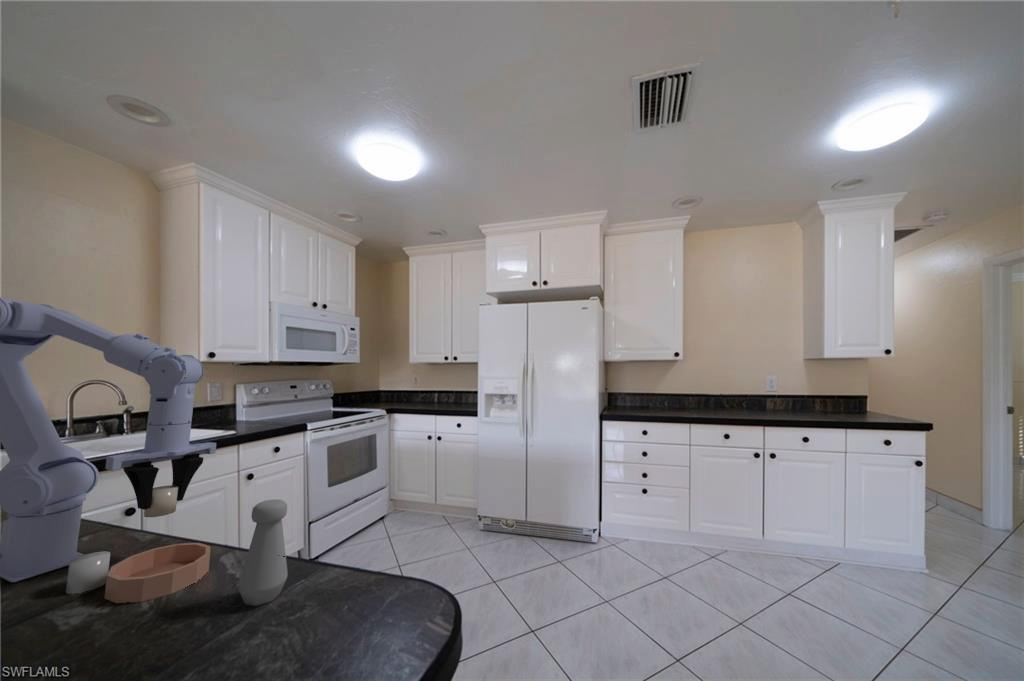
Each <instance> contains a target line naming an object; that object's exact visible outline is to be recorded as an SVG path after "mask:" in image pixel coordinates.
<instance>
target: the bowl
mask: <svg viewBox="0 0 1024 681" xmlns="http://www.w3.org/2000/svg"><path fill="white" fill-rule="evenodd" d="M210 559H211V545H207V544H204V543H201V542H186V543H185V542H183V543H175V544H170V545H165V546H159V547H155V548H152V549H148V550H144V551H142V552H139V553H137V554H133V555H130V556H128V557H126V558H125V559H123V560H121V561H119V562H118V563H116V564H114V565H112V566H111V567H110V568H109V569H110V570H108V575H107V581H106V583H105V591H104V599H105V600H106V601H107V600H108V601H110V602H113V603H114V602H115V603H114V604H127V602H129V604H130V603H142V602H145V601H151V600H154V599H158V598H162V597H166V596H170V595H173V594H174V593H177V592H179V591H181V590H184V589H186V588H188V587H190V586H189V585H191V584H193V583H195V584H196V583H198V582H199V581H200V580H202V577H203V576H204V575H205V574H206V573H207V572H208V573H209V570H210V569H209V568H210ZM206 575H207V574H206ZM206 575H205V576H206ZM205 576H204V577H205ZM204 577H203V578H204ZM199 579H200V580H199ZM198 580H199V581H198ZM197 581H198V582H197ZM193 585H194V584H193ZM187 586H188V587H187ZM191 586H192V585H191ZM185 587H186V588H185Z"/></svg>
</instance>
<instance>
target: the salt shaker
mask: <svg viewBox="0 0 1024 681" xmlns="http://www.w3.org/2000/svg"><path fill="white" fill-rule="evenodd" d="M287 512H288V503H286V501H285V500H283V499H276V498H274V499H268V500H263V501H261V502H258V503H256V505H254V507H252V509H251V521H252V523H255V524H256V525H255V529H254V531H253V535H252V538H251V541H250V543H249V544H250V545H249V548H248V552H247V555H246V558H245V562H244V564H243V569H242V570H241V575H240V578H239V581H238V589H239V590H238V592H239V593H240V597H241V598H242V600H243V603H244V605H247V606H253V607H258V606H261V605H265V604H268V603H270V602H273V601H274V600H275V599H276V598H277V597H278V596H279V595H280V594H281V591H282V589H283V587H284V585H285V584H286V581H287V579H288V574H289V573H288V565H287V557H286V556H287V555H286V546H285V545H286V544H285V538H284V528H283V519H284V518H285V516H286V515H287ZM278 555H279V556H278ZM283 556H285V557H283Z"/></svg>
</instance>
